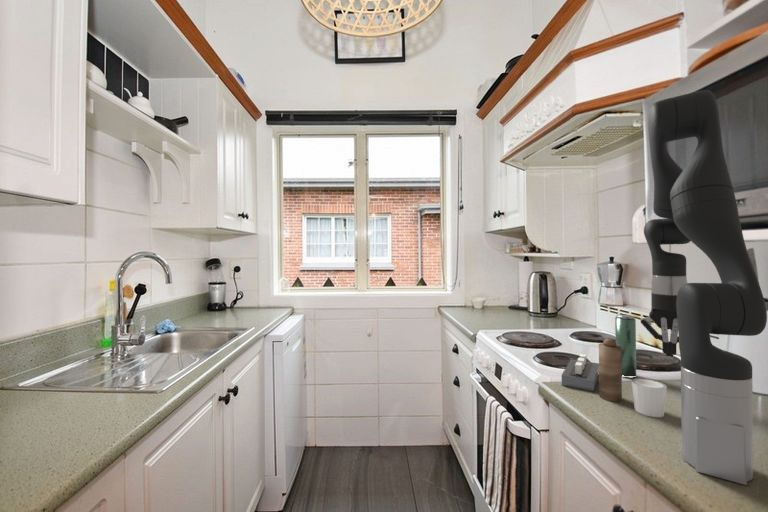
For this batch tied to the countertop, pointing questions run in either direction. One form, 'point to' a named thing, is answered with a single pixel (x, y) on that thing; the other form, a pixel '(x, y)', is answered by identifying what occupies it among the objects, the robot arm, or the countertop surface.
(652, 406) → the white cup
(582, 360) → the middle paddle
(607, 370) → the pepper mill
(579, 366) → the near paddle
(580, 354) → the far paddle
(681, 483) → the countertop surface
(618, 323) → the green tin
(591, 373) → the switch box
